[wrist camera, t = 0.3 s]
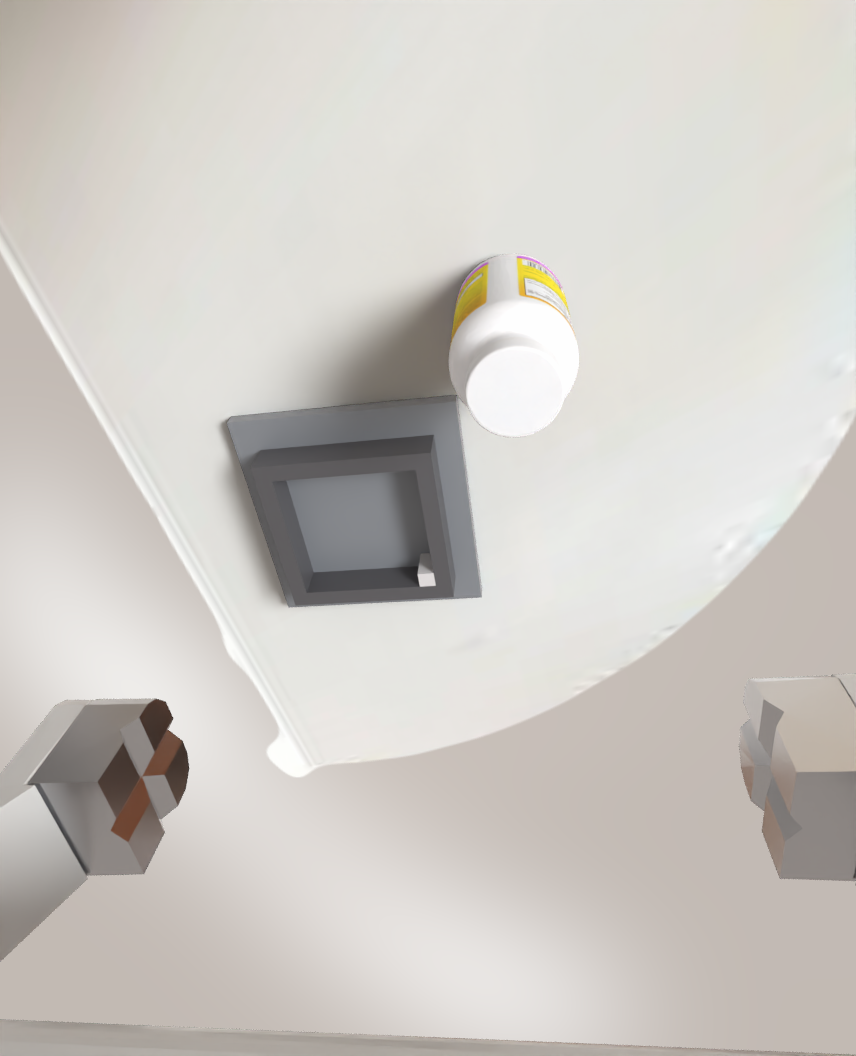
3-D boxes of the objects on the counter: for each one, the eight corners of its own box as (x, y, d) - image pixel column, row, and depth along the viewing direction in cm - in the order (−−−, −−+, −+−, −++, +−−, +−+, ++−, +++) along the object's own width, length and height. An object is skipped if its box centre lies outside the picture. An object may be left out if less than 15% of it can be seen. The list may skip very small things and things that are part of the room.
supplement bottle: (462, 362, 46) (451, 461, 35) (450, 258, 42) (432, 333, 32) (567, 351, 45) (587, 450, 34) (563, 243, 41) (584, 316, 31)
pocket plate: (231, 416, 50) (214, 440, 47) (456, 394, 47) (453, 418, 44) (291, 599, 59) (281, 628, 56) (481, 589, 57) (480, 618, 54)
